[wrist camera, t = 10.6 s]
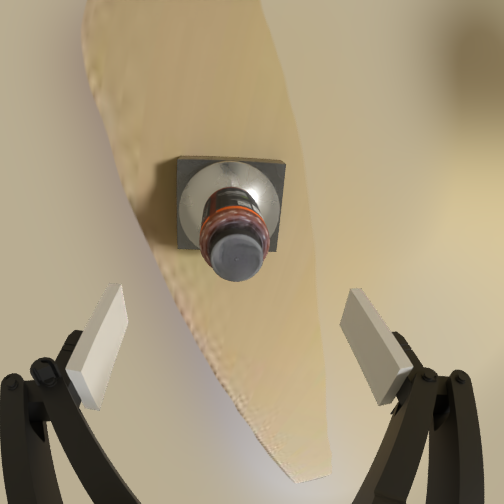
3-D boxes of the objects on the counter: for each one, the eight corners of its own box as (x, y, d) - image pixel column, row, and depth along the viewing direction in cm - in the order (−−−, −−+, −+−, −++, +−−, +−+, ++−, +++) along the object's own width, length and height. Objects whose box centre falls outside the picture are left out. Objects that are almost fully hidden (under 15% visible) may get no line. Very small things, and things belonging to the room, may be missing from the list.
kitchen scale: (181, 155, 33) (174, 160, 29) (281, 159, 35) (289, 165, 30) (180, 243, 38) (175, 260, 34) (271, 246, 40) (278, 262, 35)
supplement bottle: (210, 242, 33) (206, 300, 23) (197, 192, 31) (185, 231, 21) (262, 231, 33) (281, 284, 23) (253, 180, 31) (269, 213, 21)
